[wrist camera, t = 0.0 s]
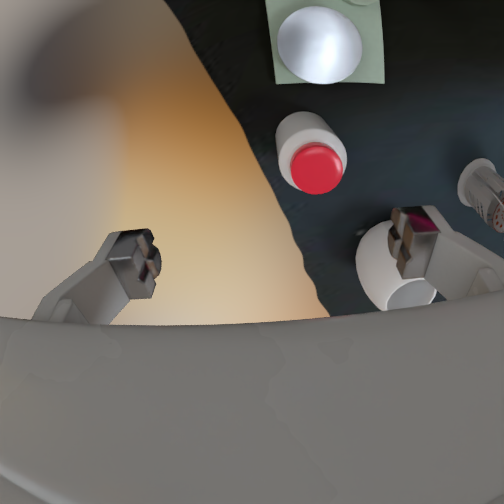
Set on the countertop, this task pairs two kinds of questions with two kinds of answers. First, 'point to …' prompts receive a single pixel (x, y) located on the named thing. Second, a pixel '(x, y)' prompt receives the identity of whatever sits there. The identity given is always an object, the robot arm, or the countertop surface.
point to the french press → (483, 191)
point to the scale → (358, 12)
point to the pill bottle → (309, 153)
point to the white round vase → (387, 274)
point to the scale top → (319, 45)
